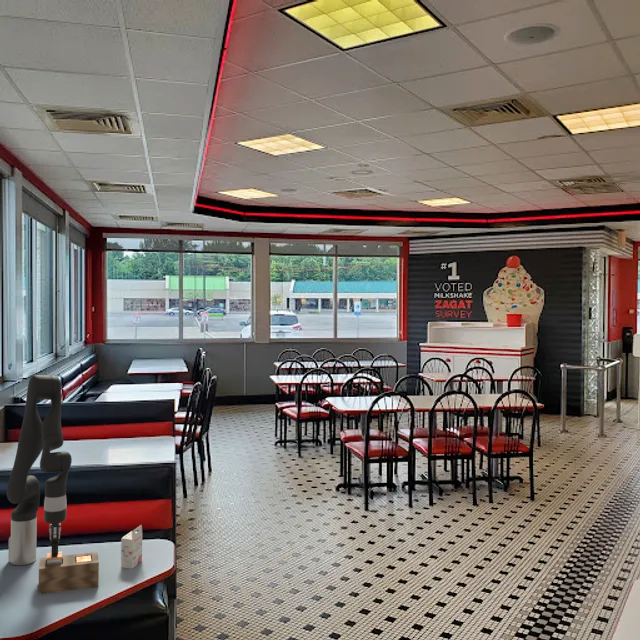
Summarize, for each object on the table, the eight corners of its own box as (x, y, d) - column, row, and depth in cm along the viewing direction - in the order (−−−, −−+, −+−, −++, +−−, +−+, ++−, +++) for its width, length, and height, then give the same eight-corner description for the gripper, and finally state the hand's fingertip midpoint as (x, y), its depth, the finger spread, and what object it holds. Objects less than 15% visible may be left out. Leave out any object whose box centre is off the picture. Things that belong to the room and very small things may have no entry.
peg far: (76, 585, 239) (76, 562, 239) (76, 580, 244) (76, 556, 244) (90, 584, 241) (91, 560, 241) (90, 578, 246) (90, 555, 246)
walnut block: (38, 594, 233) (38, 569, 232) (39, 582, 242) (39, 558, 242) (98, 586, 240) (98, 562, 239) (97, 575, 249) (97, 552, 249)
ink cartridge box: (130, 559, 265) (131, 523, 264) (142, 560, 264) (143, 524, 263) (120, 567, 257) (120, 530, 256) (131, 569, 256) (132, 531, 255)
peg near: (46, 582, 236) (46, 558, 235) (46, 576, 240) (47, 552, 240) (61, 580, 238) (61, 556, 237) (61, 574, 242) (61, 551, 242)
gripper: (66, 512, 233) (66, 560, 234) (66, 500, 245) (65, 546, 246) (43, 514, 230) (43, 563, 231) (44, 502, 243) (43, 549, 243)
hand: (54, 554), depth 239 cm, fingers closed
